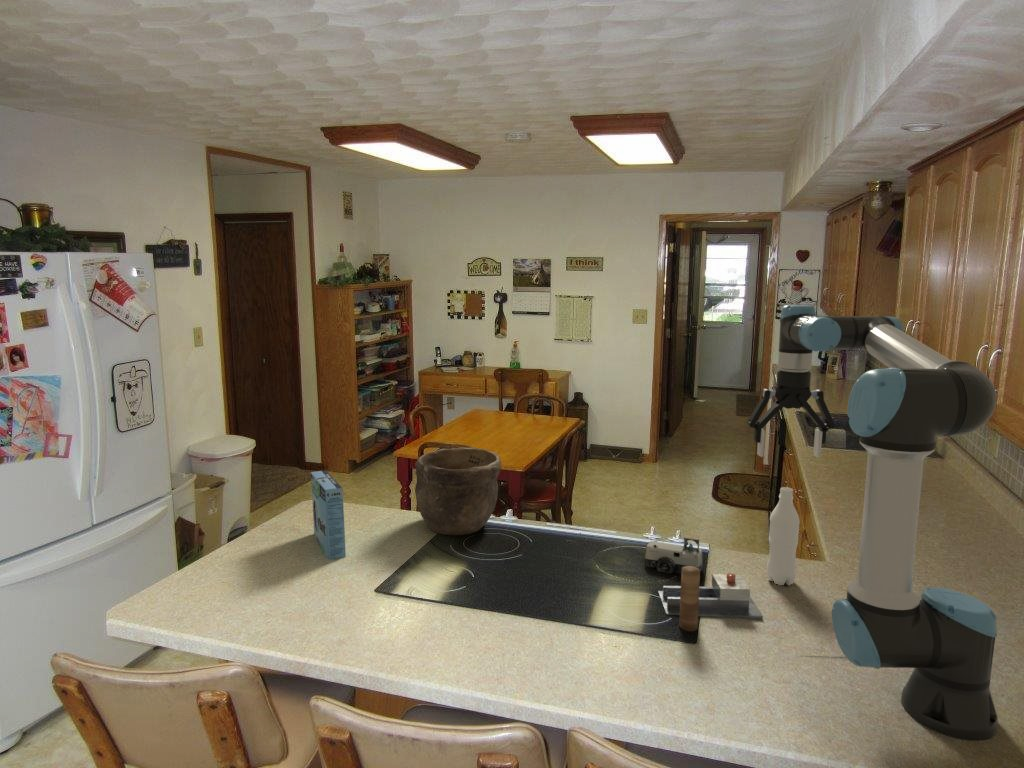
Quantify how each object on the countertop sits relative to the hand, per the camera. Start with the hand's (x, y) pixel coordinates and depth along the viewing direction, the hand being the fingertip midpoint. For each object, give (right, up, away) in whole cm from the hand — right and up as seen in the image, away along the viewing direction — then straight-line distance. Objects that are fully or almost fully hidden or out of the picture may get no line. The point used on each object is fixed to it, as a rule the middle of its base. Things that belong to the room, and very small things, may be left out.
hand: (788, 456), depth 173 cm
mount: (-21, -36, -4) cm, 41 cm away
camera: (-24, -33, +16) cm, 44 cm away
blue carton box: (-118, -31, +24) cm, 125 cm away
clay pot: (-84, -29, +42) cm, 98 cm away
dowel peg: (-28, -37, -14) cm, 49 cm away
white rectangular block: (-16, -32, -4) cm, 36 cm away
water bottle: (+2, -34, +10) cm, 36 cm away
